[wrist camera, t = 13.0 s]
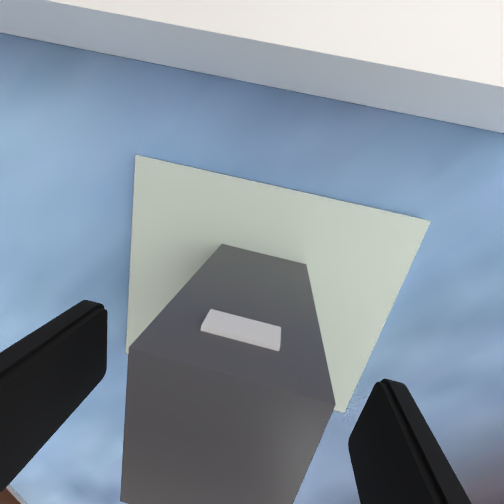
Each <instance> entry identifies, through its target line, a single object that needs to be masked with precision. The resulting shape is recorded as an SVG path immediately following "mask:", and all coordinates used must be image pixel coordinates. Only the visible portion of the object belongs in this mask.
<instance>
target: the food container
mask: <svg viewBox="0 0 504 504" xmlns="http://www.w3.org/2000/svg"><path fill="white" fill-rule="evenodd" d="M0 504H27V503H26V502H25V501H24V500H23V499H22V498H21V496H20V495H19V494H18V493H17V492H16V491H15V490H14V489H13V488H12V487H11V486H10V485H8V486H7V487H6V488H5V489H4V490H3V491H2V492H0Z"/></svg>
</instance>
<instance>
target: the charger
mask: <svg viewBox="0 0 504 504" xmlns="http://www.w3.org/2000/svg"><path fill="white" fill-rule="evenodd" d="M335 405H336V403H335V398H334V393H333V389H332V384H331V379H330V374H329V370H328V365H327V360H326V355H325V351H324V346H323V341H322V336H321V332H320V327H319V322H318V317H317V313H316V308H315V303H314V298H313V294H312V289H311V284H310V279H309V275H308V270H307V265H306V264H303V263H299V262H295V261H291V260H287V259H283V258H279V257H275V256H270V255H266V254H262V253H258V252H254V251H250V250H246V249H242V248H238V247H233V246H229V245H225V244H221V245H220V246H219V247H218V249H217V250H216V251H215V252H214V253H213V254H212V255H211V256H210V257H209V259H208V260H207V261H206V262H205V263H204V264H203V265H202V266H201V267H200V269H199V270H198V271H197V272H196V273H195V274H194V275H193V276H192V277H191V279H190V280H189V281H188V282H187V283H186V284H185V285H184V286H183V288H182V289H181V290H180V291H179V292H178V293H177V294H176V295H175V296H174V298H173V299H172V300H171V301H170V302H169V303H168V304H167V305H166V306H165V308H164V309H163V310H162V311H161V312H160V313H159V314H158V315H157V316H156V318H155V319H154V320H153V321H152V322H151V323H150V324H149V325H148V326H147V328H146V329H145V330H144V331H143V332H142V333H141V334H140V335H139V337H138V338H137V339H136V340H135V341H134V342H133V343H132V344H131V345H130V347H129V352H128V370H127V388H126V406H125V424H124V442H123V460H122V478H121V496H120V501H121V502H125V503H128V504H293V502H294V500H295V497H296V495H297V493H298V490H299V488H300V486H301V483H302V481H303V479H304V476H305V474H306V472H307V470H308V467H309V465H310V463H311V460H312V458H313V456H314V453H315V451H316V449H317V446H318V444H319V442H320V440H321V437H322V435H323V433H324V430H325V428H326V426H327V423H328V421H329V419H330V416H331V414H332V412H333V410H334V407H335Z"/></svg>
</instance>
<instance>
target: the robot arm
mask: <svg viewBox="0 0 504 504" xmlns="http://www.w3.org/2000/svg"><path fill="white" fill-rule="evenodd" d="M106 367H107V310H105V309H104V306H103V304H100V303H96V302H93V301H89V300H83V301H81V302H80V303H78V304H76V305H75V306H73V307H72V308H70V309H69V310H67V311H65V312H64V313H62V314H61V315H59V316H57V317H56V318H54V319H53V320H51V321H50V322H48V323H46V324H45V325H43V326H42V327H40V328H39V329H37V330H35V331H34V332H32V333H31V334H29V335H27V336H26V337H24V338H23V339H21V340H20V341H18V342H16V343H15V344H13V345H12V346H10V347H8V348H7V349H5V350H4V351H2V352H1V353H0V492H2V491H3V490H4V489H5V488H6V487H7V486H8V485H9V484H10V482H11V481H12V480H13V479H14V478H15V477H16V476H17V475H18V473H19V472H20V471H21V470H22V469H23V468H24V467H25V466H26V464H27V463H28V462H29V461H30V460H31V459H32V458H33V457H34V455H35V454H36V453H37V452H38V451H39V450H40V449H41V448H42V446H43V445H44V444H45V443H46V442H47V441H48V440H49V439H50V437H51V436H52V435H53V434H54V433H55V432H56V431H57V430H58V428H59V427H60V426H61V425H62V424H63V423H64V422H65V421H66V419H67V418H68V417H69V416H70V415H71V414H72V413H73V412H74V410H75V409H76V408H77V407H78V406H79V405H80V404H81V403H82V401H83V400H84V399H85V398H86V397H87V396H88V395H89V393H90V392H91V391H92V390H93V389H94V388H95V387H96V386H97V384H98V383H99V382H100V381H101V380H102V379H103V377H104V375H105V373H106ZM348 446H349V453H350V458H351V462H352V467H353V471H354V476H355V480H356V485H357V489H358V494H359V498H360V503H361V504H471V502H470V500H469V498H468V496H467V495H466V493H465V491H464V489H463V487H462V486H461V484H460V482H459V480H458V478H457V477H456V475H455V473H454V471H453V469H452V468H451V466H450V464H449V462H448V460H447V459H446V457H445V455H444V453H443V451H442V450H441V448H440V446H439V444H438V442H437V441H436V439H435V437H434V435H433V433H432V432H431V430H430V428H429V426H428V424H427V423H426V421H425V419H424V417H423V415H422V414H421V412H420V410H419V408H418V407H417V405H416V403H415V401H414V399H413V398H412V396H411V394H410V392H409V390H408V389H407V387H406V386H405V385H404V384H403V383H400V382H396V381H392V380H388V379H383V380H382V381H381V382H377V383H376V384H375V385H374V387H373V390H372V392H371V394H370V396H369V398H368V400H367V402H366V404H365V406H364V408H363V410H362V412H361V414H360V416H359V419H358V421H357V423H356V425H355V427H354V429H353V431H352V433H351V435H350V437H349V443H348Z"/></svg>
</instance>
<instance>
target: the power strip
mask: <svg viewBox="0 0 504 504" xmlns="http://www.w3.org/2000/svg"><path fill="white" fill-rule="evenodd" d="M0 33H5V34H10V35H15V36H20V37H25V38H30V39H35V40H40V41H45V42H50V43H55V44H60V45H65V46H70V47H75V48H80V49H85V50H90V51H95V52H100V53H105V54H110V55H115V56H120V57H125V58H130V59H135V60H140V61H145V62H150V63H155V64H160V65H165V66H170V67H175V68H180V69H185V70H190V71H195V72H200V73H205V74H210V75H215V76H220V77H225V78H230V79H235V80H240V81H245V82H250V83H255V84H260V85H265V86H270V87H275V88H280V89H285V90H290V91H295V92H300V93H305V94H310V95H315V96H320V97H325V98H330V99H335V100H340V101H345V102H350V103H355V104H360V105H365V106H370V107H375V108H380V109H385V110H390V111H395V112H400V113H405V114H410V115H415V116H420V117H425V118H430V119H435V120H440V121H445V122H450V123H455V124H460V125H465V126H470V127H475V128H480V129H485V130H490V131H495V132H500V133H504V0H0Z"/></svg>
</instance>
